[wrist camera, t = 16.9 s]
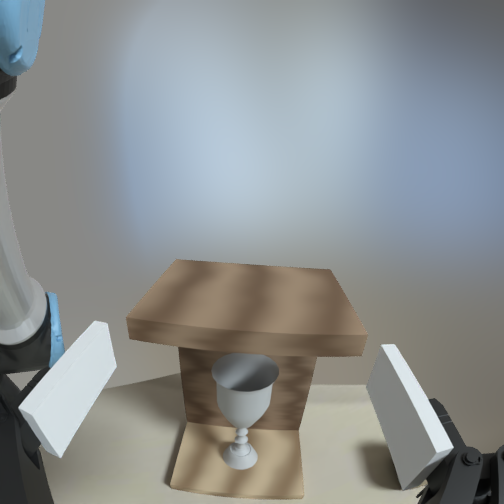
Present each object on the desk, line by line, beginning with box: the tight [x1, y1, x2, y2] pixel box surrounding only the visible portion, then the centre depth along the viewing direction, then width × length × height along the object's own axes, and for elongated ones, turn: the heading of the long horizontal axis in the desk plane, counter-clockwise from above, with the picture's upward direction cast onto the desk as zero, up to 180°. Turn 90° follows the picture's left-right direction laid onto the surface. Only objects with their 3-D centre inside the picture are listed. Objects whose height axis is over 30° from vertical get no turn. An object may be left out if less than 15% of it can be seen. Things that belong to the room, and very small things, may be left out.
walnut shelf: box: [126, 259, 368, 499], centre depth 31 cm, size 18×14×29 cm
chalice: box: [211, 353, 279, 470], centre depth 32 cm, size 7×7×18 cm
